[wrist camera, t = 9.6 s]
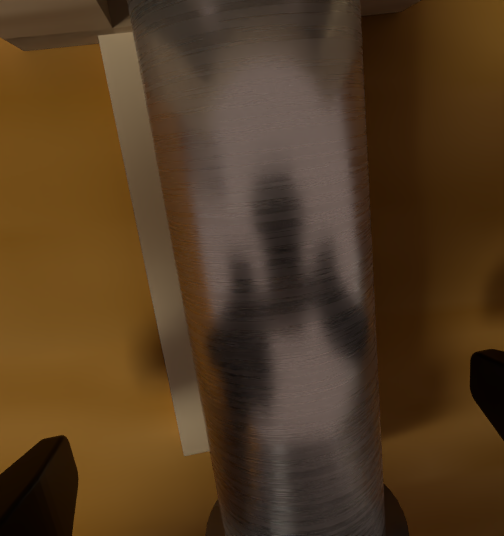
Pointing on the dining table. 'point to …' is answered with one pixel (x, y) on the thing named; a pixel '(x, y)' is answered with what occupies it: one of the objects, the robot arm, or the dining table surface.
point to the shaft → (273, 254)
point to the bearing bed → (135, 164)
